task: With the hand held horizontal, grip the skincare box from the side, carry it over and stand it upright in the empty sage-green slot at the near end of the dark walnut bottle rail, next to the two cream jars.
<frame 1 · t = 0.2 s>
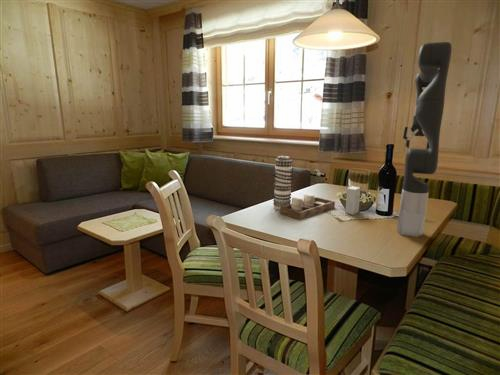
hand: (417, 148, 164), 29 cm above the table, tool pointing down, fingers open, 8 cm apart
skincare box: (351, 212, 156), on the table
grey striped cylinder: (281, 207, 163), on the table
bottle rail: (308, 210, 158), on the table
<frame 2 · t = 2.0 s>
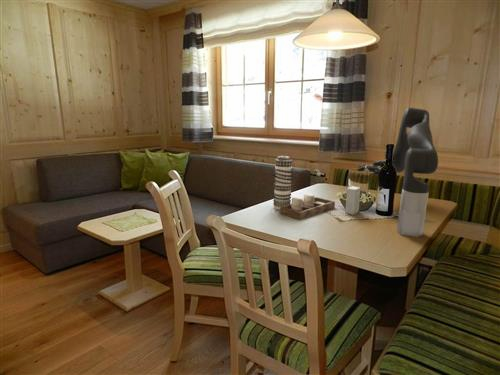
hand: (366, 171, 160), 18 cm above the table, tool horizontal, fingers open, 8 cm apart
nothing on the table moved.
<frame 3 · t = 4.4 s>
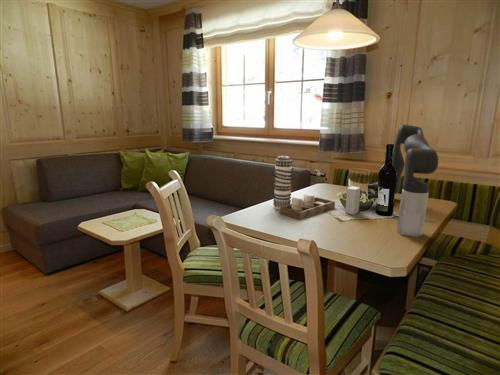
hand: (360, 195, 159), 7 cm above the table, tool horizontal, fingers open, 8 cm apart
nothing on the table moved.
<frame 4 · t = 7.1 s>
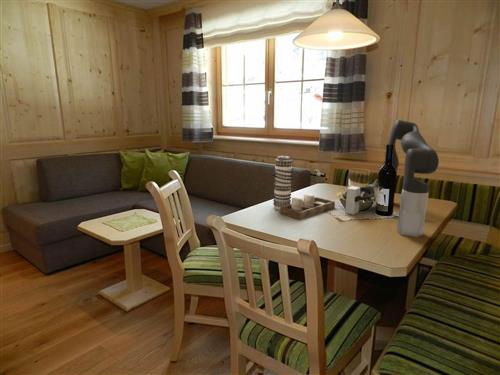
hand: (350, 198, 153), 7 cm above the table, tool horizontal, fingers closed on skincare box, 4 cm apart
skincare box: (351, 212, 156), on the table, touching gripper
everything else where it was.
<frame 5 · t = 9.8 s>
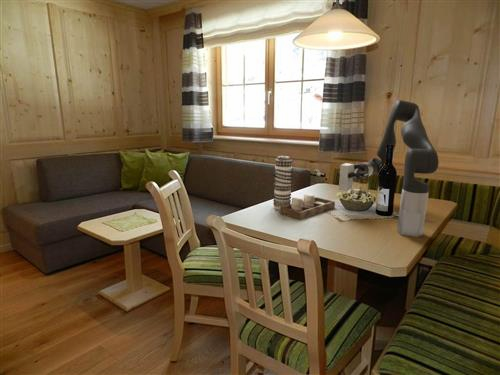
hand: (343, 175, 153), 18 cm above the table, tool horizontal, fingers closed on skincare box, 4 cm apart
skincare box: (345, 189, 156), point 10 cm above the table, touching gripper
everything else where it was.
when the fingers open (10 cm above the table, at t = 13.0 s): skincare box drops 1 cm, resting on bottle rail.
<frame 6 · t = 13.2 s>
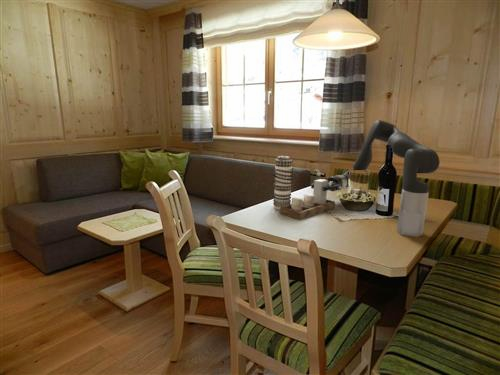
hand: (317, 187, 160), 10 cm above the table, tool horizontal, fingers open, 6 cm apart
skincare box: (319, 204, 164), point 1 cm above the table, touching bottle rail
everything else where it was.
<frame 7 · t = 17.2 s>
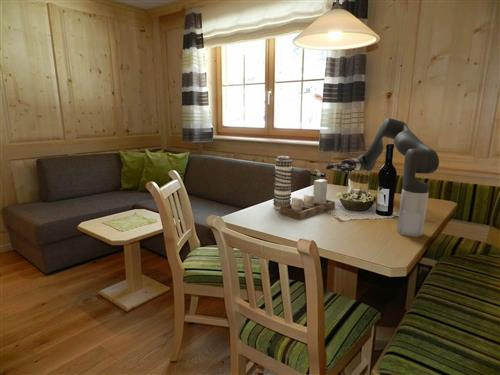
hand: (334, 168, 168), 18 cm above the table, tool horizontal, fingers open, 8 cm apart
nothing on the table moved.
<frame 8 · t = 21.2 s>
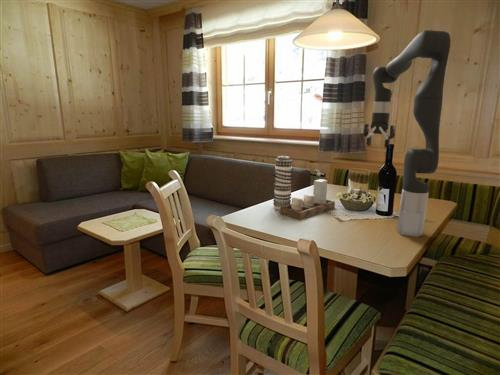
hand: (377, 146, 159), 30 cm above the table, tool pointing down, fingers open, 8 cm apart
nothing on the table moved.
at the end: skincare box 0.2 cm from the target spot on the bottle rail, point 1.2 cm above the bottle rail's base; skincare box tilted 0°; the gripper is holding nothing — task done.
